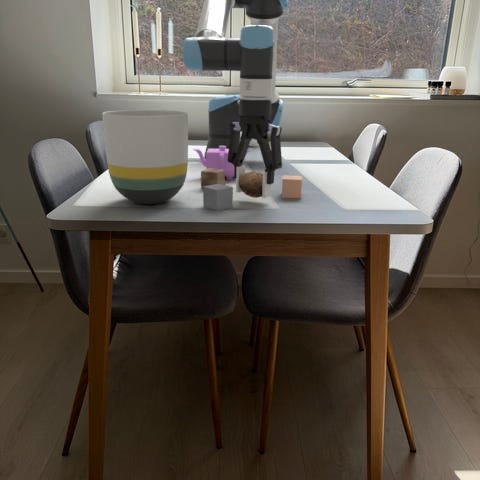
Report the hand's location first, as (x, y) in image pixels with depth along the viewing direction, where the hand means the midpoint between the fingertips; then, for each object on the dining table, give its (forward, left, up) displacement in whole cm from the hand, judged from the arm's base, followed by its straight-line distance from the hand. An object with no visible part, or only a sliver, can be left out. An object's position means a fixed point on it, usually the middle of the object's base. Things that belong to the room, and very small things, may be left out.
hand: (253, 194), depth 115 cm
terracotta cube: (+4, +12, -2) cm, 13 cm away
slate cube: (-4, -9, -2) cm, 10 cm away
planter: (-20, -16, -2) cm, 26 cm away
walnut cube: (-18, +6, -2) cm, 19 cm away
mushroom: (0, 0, -1) cm, 1 cm away
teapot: (-25, +19, -2) cm, 31 cm away
